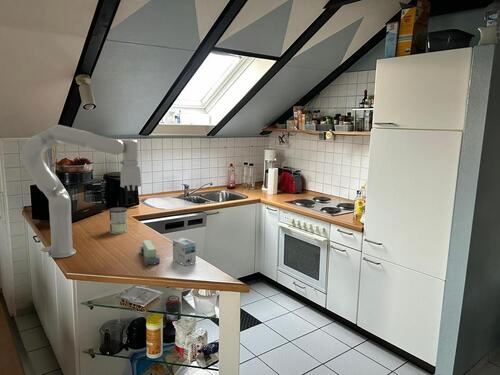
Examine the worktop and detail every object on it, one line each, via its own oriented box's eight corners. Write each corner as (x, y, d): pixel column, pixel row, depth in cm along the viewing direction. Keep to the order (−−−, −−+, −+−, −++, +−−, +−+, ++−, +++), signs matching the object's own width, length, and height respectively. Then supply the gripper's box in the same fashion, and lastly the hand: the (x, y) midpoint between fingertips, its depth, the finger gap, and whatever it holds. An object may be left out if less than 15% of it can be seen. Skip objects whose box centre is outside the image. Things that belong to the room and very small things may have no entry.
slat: (148, 263, 186) (148, 250, 184) (143, 253, 200) (142, 240, 199) (156, 263, 187) (155, 249, 186) (149, 252, 201) (149, 239, 200)
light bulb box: (196, 263, 188) (196, 242, 187) (185, 266, 184) (185, 244, 182) (183, 257, 196) (183, 237, 194) (172, 260, 191) (172, 239, 189)
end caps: (145, 265, 183) (145, 259, 183) (139, 252, 201) (139, 246, 201) (159, 263, 186) (159, 257, 185) (152, 250, 204) (152, 245, 203)
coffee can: (106, 231, 236) (105, 209, 234) (120, 228, 244) (120, 206, 242) (116, 234, 230) (116, 211, 228) (131, 231, 239) (130, 208, 236)
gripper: (116, 164, 196) (116, 199, 199) (146, 163, 202) (146, 198, 205) (114, 162, 203) (115, 196, 206) (143, 162, 209) (144, 195, 212)
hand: (130, 197), depth 206 cm, fingers closed
